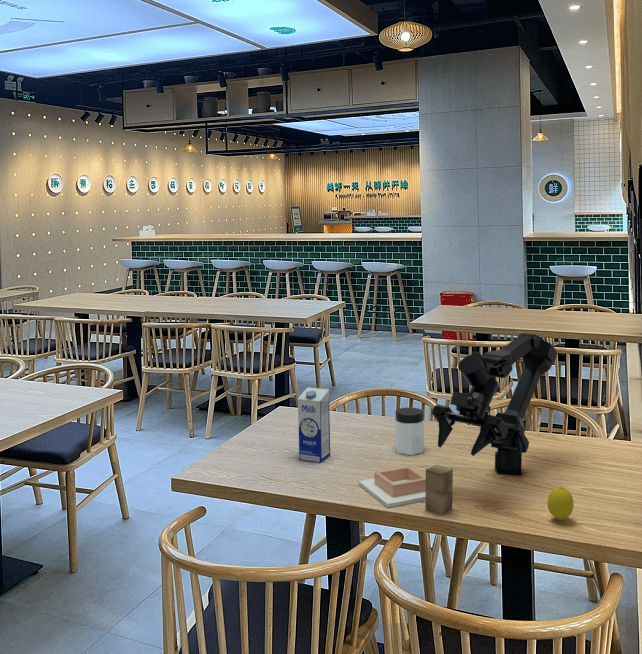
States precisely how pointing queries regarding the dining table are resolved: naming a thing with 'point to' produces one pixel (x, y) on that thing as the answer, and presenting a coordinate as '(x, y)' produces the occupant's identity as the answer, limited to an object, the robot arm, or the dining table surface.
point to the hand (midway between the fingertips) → (455, 450)
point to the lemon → (560, 503)
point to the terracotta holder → (396, 486)
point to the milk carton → (314, 425)
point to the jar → (409, 431)
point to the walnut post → (439, 489)
